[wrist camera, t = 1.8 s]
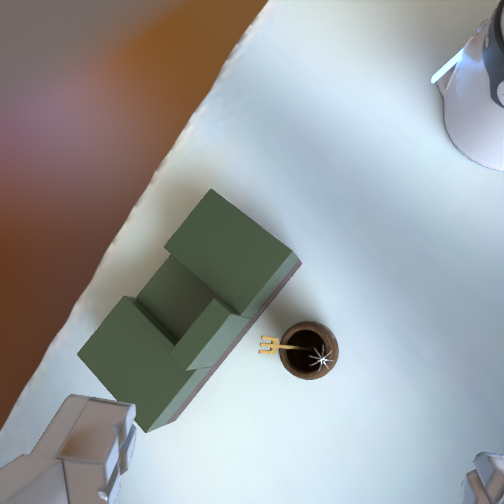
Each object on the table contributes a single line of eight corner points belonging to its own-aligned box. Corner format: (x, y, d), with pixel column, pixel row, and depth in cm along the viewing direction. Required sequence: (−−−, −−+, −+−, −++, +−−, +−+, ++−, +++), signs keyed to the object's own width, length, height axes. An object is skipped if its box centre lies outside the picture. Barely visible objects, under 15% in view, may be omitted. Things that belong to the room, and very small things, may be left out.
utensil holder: (335, 382, 44) (326, 396, 32) (279, 369, 46) (253, 378, 34) (343, 328, 45) (338, 324, 33) (288, 317, 47) (266, 310, 35)
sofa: (229, 207, 51) (200, 177, 42) (302, 263, 47) (287, 244, 38) (112, 352, 51) (57, 355, 42) (175, 420, 47) (129, 440, 38)
